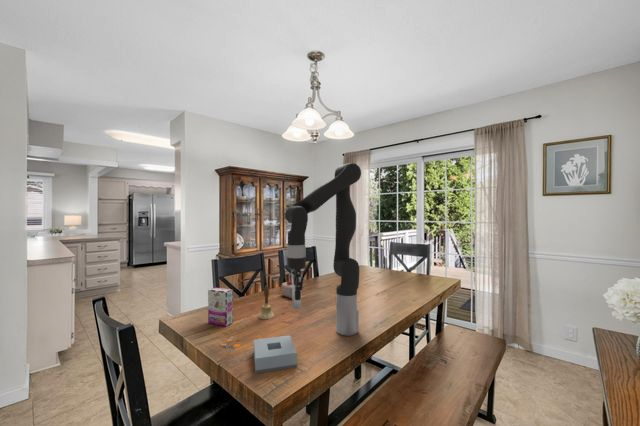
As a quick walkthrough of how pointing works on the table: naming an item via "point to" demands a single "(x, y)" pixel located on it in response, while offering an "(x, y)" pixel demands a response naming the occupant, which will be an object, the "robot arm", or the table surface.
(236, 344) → the key chain
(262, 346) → the bore block
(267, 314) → the hand bell
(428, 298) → the table surface
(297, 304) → the pin
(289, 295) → the food item
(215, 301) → the candy bar box
